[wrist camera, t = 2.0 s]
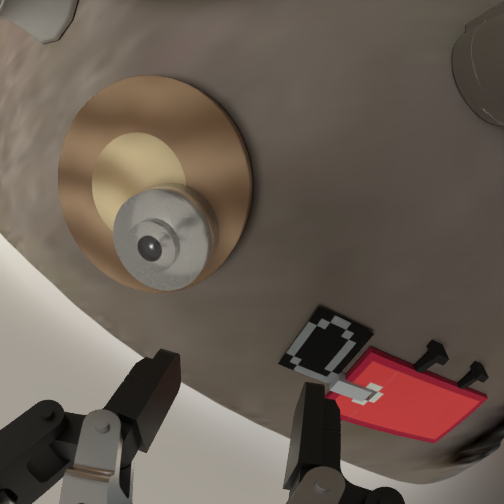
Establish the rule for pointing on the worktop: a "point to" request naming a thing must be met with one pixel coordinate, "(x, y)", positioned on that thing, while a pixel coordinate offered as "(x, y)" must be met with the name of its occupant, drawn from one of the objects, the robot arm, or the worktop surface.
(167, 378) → the robot arm
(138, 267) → the cover
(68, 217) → the turntable
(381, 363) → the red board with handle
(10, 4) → the flask
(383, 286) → the worktop surface
